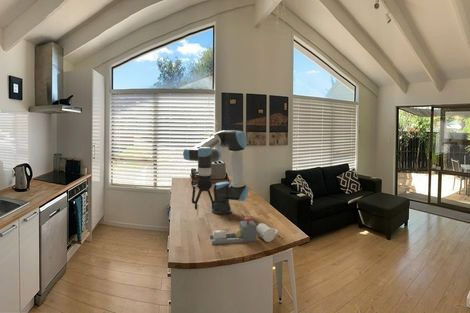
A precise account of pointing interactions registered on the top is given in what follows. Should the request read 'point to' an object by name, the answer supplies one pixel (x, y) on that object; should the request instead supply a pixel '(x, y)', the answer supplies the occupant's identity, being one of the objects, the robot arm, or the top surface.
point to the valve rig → (239, 233)
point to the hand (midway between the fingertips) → (204, 214)
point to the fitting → (219, 234)
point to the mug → (266, 232)
